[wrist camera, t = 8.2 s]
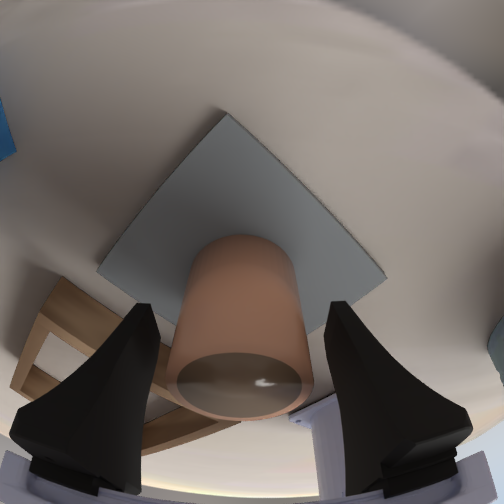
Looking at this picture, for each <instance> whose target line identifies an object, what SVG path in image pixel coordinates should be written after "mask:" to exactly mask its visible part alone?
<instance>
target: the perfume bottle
mask: <svg viewBox="0 0 504 504" xmlns="http://www.w3.org/2000/svg"><path fill="white" fill-rule="evenodd" d="M15 152H16V148H15V145H14V142H13V139H12V136H11V133H10V130H9V127H8V124H7V120H6V117H5V113H4V110H3V106H2V102H1V99H0V161H2V160H3V159H5V158H6V157H8V156H10V155H11V154H13V153H15Z"/></svg>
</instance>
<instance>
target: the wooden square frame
mask: <svg viewBox="0 0 504 504" xmlns="http://www.w3.org/2000/svg"><path fill="white" fill-rule="evenodd" d="M122 320H123V319H122V318H121V317H119V316H118V315H116V314H115V313H113V312H112V311H110V310H109V309H107V308H106V307H104V306H103V305H101V304H100V303H99V302H97V301H96V300H94V299H93V298H91V297H90V296H89V295H87V294H86V293H84V292H83V291H82V290H80V289H79V288H77V287H76V286H75V285H73V284H72V283H71V282H69V281H68V280H67V279H65V278H64V277H63V276H62V277H61V279H60V280H59V282H58V283H57V285H56V286H55V288H54V289H53V291H52V292H51V294H50V295H49V297H48V298H47V300H46V302H45V303H44V305H43V306H42V308H41V310H40V311H39V313H38V315H37V318H36V320H35V322H34V324H33V327H32V329H31V331H30V334H29V336H28V339H27V341H26V343H25V346H24V348H23V351H22V354H21V356H20V359H19V361H18V364H17V367H16V370H15V372H14V375H13V378H12V381H11V384H10V388H11V389H13V390H14V391H16V392H17V393H19V394H20V395H22V396H23V397H25V398H26V399H28V400H29V401H31V402H32V401H34V400H36V399H37V398H39V397H41V396H42V395H44V394H45V393H47V392H49V391H50V390H52V389H53V388H54V387H56V386H57V385H59V384H60V382H59V381H57V380H56V379H54V378H52V377H51V376H49V375H48V374H46V373H45V372H43V371H42V370H40V369H39V368H37V367H36V366H34V365H33V362H34V360H35V358H36V356H37V354H38V353H39V351H40V349H41V347H42V345H43V343H44V341H45V339H46V337H47V335H48V334H49V332H52V333H53V334H54V335H56V336H57V337H59V338H60V339H62V340H63V341H65V342H66V343H68V344H69V345H71V346H72V347H74V348H75V349H77V350H79V351H80V352H82V353H83V354H85V355H86V356H88V357H91V356H92V355H93V354H94V353H95V351H96V350H97V349H98V348H99V347H100V346H101V345H102V344H103V343H104V342H105V340H106V339H107V338H108V337H109V336H110V335H111V333H112V332H113V331H114V330H115V329H116V328H117V326H118V325H119V324H120V323H121V321H122ZM170 351H171V348H169V347H168V346H166V345H164V344H163V343H161V342H160V347H159V354H158V360H157V364H156V368H155V372H154V376H153V380H152V384H151V387H150V391H151V392H153V393H155V394H157V395H159V396H161V397H163V398H165V399H167V400H169V401H172V402H174V403H176V404H178V405H180V406H182V407H180V408H178V409H176V410H174V411H172V412H170V413H168V414H165V415H163V416H161V417H159V418H157V419H155V420H153V421H151V422H148V423H146V424H144V425H143V434H142V448H141V456H145V455H149V454H152V453H156V452H159V451H162V450H166V449H169V448H172V447H175V446H178V445H181V444H184V443H187V442H190V441H193V440H196V439H199V438H202V437H204V436H207V435H210V434H213V433H215V432H218V431H221V430H223V429H226V428H228V427H231V426H233V425H236V424H238V423H241V421H232V420H223V419H217V418H213V417H209V416H206V415H203V414H200V413H197V412H195V411H193V410H191V409H189V408H187V407H185V406H184V405H182V404H181V403H180V402H178V401H177V400H176V399H175V398H174V397H173V396H172V395H171V393H170V392H169V390H168V388H167V386H166V382H165V375H166V370H167V365H168V361H169V356H170Z"/></svg>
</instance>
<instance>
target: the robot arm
mask: <svg viewBox="0 0 504 504" xmlns="http://www.w3.org/2000/svg"><path fill="white" fill-rule="evenodd" d="M160 339H161V337H160V333H159V330H158V327H157V324H156V320H155V317H154V314H153V310H152V307H151V303H136V305H135V306H134V307H133V308H132V309H131V310H130V312H129V313H128V314H127V315H126V317H125V318H124V319H123V320H122V321H121V323H120V324H119V325H118V326H117V328H116V329H115V330H114V331H113V332H112V333H111V335H110V336H109V337H108V338H107V339H106V340H105V342H104V343H103V344H102V345H101V346H100V347H99V348H98V349H97V350H96V351H95V353H94V354H93V355H92V356H91V357H90V358H89V359H88V360H87V361H86V362H85V363H84V364H83V365H81V366H80V367H79V368H78V369H77V370H76V371H75V372H74V373H72V374H71V375H70V376H69V377H67V378H66V379H65V380H64V381H62V382H61V383H60V384H59V385H57V386H56V387H54V388H53V389H52V390H50V391H49V392H47V393H45V394H44V395H42V396H41V397H39V398H37V399H36V400H34V401H32V402H30V403H28V404H27V405H25V406H23V407H21V408H19V409H18V411H17V413H16V416H15V419H14V421H13V424H12V427H11V429H10V432H9V435H10V438H11V439H12V440H13V441H14V442H15V443H16V444H18V445H19V446H20V447H21V448H23V449H24V450H25V451H27V452H28V453H29V454H31V455H32V456H33V457H32V461H30V460H28V459H26V458H24V457H22V456H19V455H17V454H15V453H13V452H10V451H8V450H6V451H5V455H4V458H3V461H2V465H1V468H0V501H1V502H3V503H5V504H194V503H184V502H175V501H167V500H159V499H153V498H147V497H142V496H137V495H138V494H140V492H141V448H142V434H143V424H144V415H145V409H146V404H147V399H148V395H149V391H150V387H151V384H152V380H153V376H154V372H155V368H156V364H157V360H158V354H159V347H160ZM324 343H325V350H326V357H327V361H328V365H329V369H330V373H331V376H332V380H333V384H334V388H335V392H336V393H334V394H332V395H331V396H329V397H327V398H325V399H323V400H321V401H319V402H317V403H315V404H312V405H310V406H308V407H306V408H304V409H302V410H300V411H298V412H295V413H293V414H291V415H289V421H290V422H293V423H296V424H298V425H301V426H304V427H307V428H310V429H311V430H312V438H313V446H314V454H315V462H316V470H317V479H318V488H319V497H320V501H315V502H305V503H295V504H490V503H492V502H494V501H495V500H497V498H498V497H497V493H496V489H495V486H494V482H493V479H492V475H491V472H490V469H489V466H488V462H487V459H486V456H485V454H484V451H480V452H478V453H476V454H473V455H471V456H469V457H466V458H464V459H462V460H460V461H458V462H455V459H454V457H455V456H457V451H456V448H455V447H457V446H458V445H459V444H460V443H461V442H463V441H464V440H465V439H466V438H467V437H468V436H469V435H470V434H471V433H472V431H473V426H472V423H471V420H470V418H469V415H468V413H467V411H466V409H465V408H463V407H461V406H459V405H457V404H456V403H454V402H452V401H450V400H448V399H446V398H445V397H443V396H441V395H440V394H438V393H437V392H435V391H434V390H432V389H431V388H429V387H428V386H426V385H425V384H424V383H422V382H421V381H420V380H419V379H417V378H416V377H415V376H413V375H412V374H411V373H410V372H408V371H407V370H406V369H405V368H404V367H403V366H402V365H401V364H400V363H399V362H397V361H396V360H395V359H394V358H393V357H392V356H391V355H390V354H389V352H388V351H387V350H386V349H385V348H384V347H383V346H382V345H381V344H380V343H379V342H378V340H377V339H376V338H375V337H374V336H373V334H372V333H371V332H370V331H369V330H368V329H367V327H366V326H365V325H364V324H363V322H362V321H361V320H360V318H359V317H358V316H357V315H356V313H355V312H354V311H353V309H352V308H351V307H350V305H349V304H348V303H347V302H346V301H331V303H330V308H329V313H328V318H327V322H326V327H325V332H324Z"/></svg>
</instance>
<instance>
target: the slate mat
mask: <svg viewBox="0 0 504 504" xmlns="http://www.w3.org/2000/svg"><path fill="white" fill-rule="evenodd" d="M231 235H253V236H257V237H261V238H264V239H267V240H269V241H271V242H273V243H275V244H276V245H277V246H279V247H280V248H281V249H282V250H283V251H285V253H286V254H287V255H288V256H289V258H290V260H291V261H292V263H293V266H294V270H295V275H296V280H297V285H298V291H299V296H300V302H301V307H302V313H303V319H304V324H305V330H306V335H308V334H309V333H311V332H312V331H314V330H315V329H317V328H318V327H320V326H321V325H323V324H324V323H326V322H327V318H328V313H329V308H330V303H331V301H346V302H347V303H348V304H349V305H350V306H351V305H352V304H353V303H355V302H356V301H358V300H359V299H360V298H362V297H363V296H365V295H366V294H367V293H369V292H370V291H372V290H373V289H374V288H376V287H377V286H378V285H380V284H381V283H382V282H384V281H385V280H386V279H387V277H386V275H385V273H384V272H383V271H382V270H381V268H380V267H379V266H378V265H377V264H376V263H375V261H374V260H373V259H372V258H371V257H370V256H369V255H368V253H367V252H366V251H365V250H364V249H363V248H362V247H361V245H360V244H359V243H358V242H357V241H356V240H355V239H354V238H353V236H352V235H351V234H350V233H349V232H348V231H347V230H346V229H345V228H344V227H343V226H342V224H341V223H340V222H339V221H338V220H337V219H336V218H335V217H334V216H333V215H332V214H331V213H330V212H329V210H328V209H327V208H326V207H325V206H324V205H323V204H322V203H321V202H320V201H319V200H318V199H317V198H316V197H315V196H314V195H313V194H312V193H311V192H310V191H309V190H308V189H307V188H306V187H305V186H304V185H303V184H302V183H301V182H300V181H299V180H298V179H297V178H296V177H295V176H294V175H293V174H292V173H291V172H290V171H289V170H288V169H287V168H286V167H285V166H284V165H283V164H282V163H281V162H280V161H279V160H278V159H277V158H276V157H275V156H274V155H273V154H272V153H271V152H270V151H269V150H268V149H267V148H266V147H265V146H264V145H263V144H261V143H260V142H259V141H258V140H257V139H256V138H255V137H254V136H253V135H252V134H251V133H250V132H249V131H247V130H246V129H245V128H244V127H243V126H242V125H241V124H240V123H239V122H238V121H236V120H235V119H234V118H233V117H232V116H231V115H230V114H229V113H227V114H226V115H225V116H224V117H223V118H222V119H221V120H220V121H219V122H218V123H217V124H216V125H215V126H214V127H213V128H212V129H211V131H210V132H209V133H208V134H207V135H206V136H205V137H204V138H203V139H202V140H201V141H200V142H199V143H198V144H197V146H196V147H195V148H194V149H193V150H192V151H191V152H190V153H189V154H188V155H187V157H186V158H185V159H184V160H183V161H182V162H181V163H180V164H179V166H178V167H177V168H176V169H175V170H174V171H173V172H172V174H171V175H170V176H169V177H168V178H167V179H166V181H165V182H164V183H163V184H162V185H161V187H160V188H159V189H158V190H157V191H156V193H155V194H154V195H153V196H152V197H151V199H150V200H149V201H148V202H147V204H146V205H145V206H144V207H143V209H142V210H141V211H140V212H139V214H138V215H137V216H136V218H135V219H134V220H133V221H132V223H131V224H130V225H129V227H128V228H127V229H126V230H125V232H124V233H123V234H122V236H121V237H120V238H119V240H118V241H117V242H116V244H115V245H114V247H113V248H112V249H111V251H110V252H109V253H108V255H107V256H106V258H105V259H104V260H103V262H102V263H101V265H100V266H99V268H98V269H97V271H96V272H97V273H99V274H100V275H101V276H103V277H104V278H105V279H107V280H108V281H110V282H111V283H112V284H114V285H115V286H117V287H118V288H120V289H121V290H122V291H124V292H125V293H127V294H128V295H130V296H131V297H133V298H134V299H135V300H137V301H138V302H140V303H151V307H152V310H153V311H154V312H155V313H157V314H158V315H160V316H161V317H163V318H164V319H166V320H167V321H169V322H171V323H172V324H174V325H175V326H176V325H177V321H178V317H179V313H180V309H181V305H182V300H183V296H184V292H185V288H186V285H187V281H188V277H189V273H190V269H191V265H192V263H193V260H194V259H195V257H196V255H197V254H198V253H199V252H200V251H201V250H202V249H203V248H204V247H205V246H206V245H208V244H209V243H211V242H213V241H215V240H217V239H220V238H222V237H226V236H231Z"/></svg>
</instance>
